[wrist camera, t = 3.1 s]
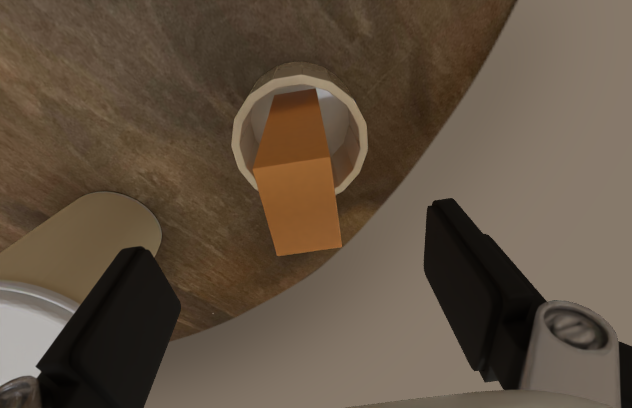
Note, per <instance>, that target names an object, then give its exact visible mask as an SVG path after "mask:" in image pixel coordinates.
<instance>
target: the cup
mask: <svg viewBox="0 0 632 408" xmlns="http://www.w3.org/2000/svg"><path fill="white" fill-rule="evenodd" d="M314 88H316V92H317V96H318V101H319V106H320V111H321V115H322V120H323V125H324V129H325V134H326V139H327V144H328V148H329V153H330V158H331V166H332V173H333V181H334V188H335V195H336V194H338V193H340V192H342V191H343V190H345V189H346V187H347V186H348V185H349V184H350V183H351V182H352V181H353V180H354V178H355V177H356V176H357V175H358V174H359V172H360V170H361V168H362V165H363V162H364V159H365V157H366V154H367V151H368V140H367V125H366V122H365V120H364V118H363V116H362V114H361V112H360V110H359V108H358V106H357V104H356V102H355V101H354V99H353V97H352V96H351V94H350V92H349V91H348V89H347V88H346V86H345V84H344V83H343V82H342V81H341V80H340V79H339V78H338V77H336V76H335V75H334V74H333V73H332V72H330V71H329V70H327V69H326V68H324V67H321V66H319V65H316V64H313V63H308V62H290V63H285V64H282V65H279V66H276V67H275V68H273V69H271V70H270V71H268V72H267V73H266V74H264V75H263V76H262V77H260V78H259V79H258V80H257V82H256V84H255V85H254V87H253V89H252V90H251V92H250V93H249V95H248V97H247V98H246V100H245V102H244V103H243V105H242V107H241V108H240V110H239V112H238V113H237V115H236V117H235V119H234V124H233V133H232V142H231V147H232V150H233V153H234V156H235V159H236V163H237V166H238V169H239V171H240V172H241V173H242V174H243V175H244V177H245V178H246V179H247V180H248V181H249V183H250V184H251V185H252V186H253V187H254V188H255V189H256V190H258V187H257V184H256V180H255V177H254V173H253V170H252V169H253V165H254V162H255V159H256V155H257V152H258V148H259V145H260V142H261V138H262V135H263V132H264V128H265V125H266V122H267V118H268V115H269V111H270V108H271V105H272V101H273V98H274V95H278V94H284V93H290V92H296V91H302V90H308V89H314Z"/></svg>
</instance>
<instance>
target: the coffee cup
mask: <svg viewBox="0 0 632 408" xmlns="http://www.w3.org/2000/svg"><path fill="white" fill-rule="evenodd" d="M161 239H162V231H161V227H160V224H159V222H158V220H157V219H156V217H155V215H154V214H153V213H152V212H151V211H150V210H149V209H148V208H147V207H146V206H144V205H143V204H142V203H140V202H139V201H137V200H135V199H133V198H131V197H128V196H126V195H123V194H119V193H115V192H106V191H103V192H94V193H90V194H87V195H84V196H82V197H80V198H79V199H77V200H76V201H74V202H72V203H71V204H69V205H68V206H67V207H65V208H64V209H62V210H61V211H59V212H58V213H57V214H55V215H54V216H52V217H51V218H49V219H48V220H46V221H45V222H44V223H42V224H41V225H39V226H38V227H36V228H35V229H34V230H32V231H31V232H29V233H28V234H26V235H25V236H24V237H22V238H21V239H19V240H18V241H17V242H15V243H14V244H12V245H11V246H9V247H8V248H7V249H5V250H4V251H2V252H1V253H0V386H1V385H3V384H5V383H7V382H8V381H10V380H12V379H15V378H18V377H21V376H33V377H35V378H37V377H38V376H39V374H40V373H41V371H40V370H39V369H38V368H36V367H35V366H36V365H37V364H38V362H39V361H40V359H41V358H42V357H43V355H44V354H45V353H46V351H47V350H48V349H49V347H50V346H51V344H52V343H53V342H54V340H55V339H56V338H57V336H58V335H59V333H60V332H61V331H62V329H63V328H64V327H65V325H66V324H67V323H68V321H69V320H70V318H71V317H72V316H73V314H74V313H75V312H76V310H77V309H78V308H79V306H80V305H81V303H82V302H83V301H84V299H85V298H86V297H87V295H88V294H89V293H90V291H91V290H92V288H93V287H94V286H95V284H96V283H97V282H98V280H99V279H100V277H101V276H102V275H103V273H104V272H105V271H106V269H107V268H108V267H109V265H110V264H111V262H112V261H113V260H114V258H115V257H116V256H117V254H118V253H119V252H120V251H121V250H122V249H124V248H130V247H136V246H142V247H144V248H145V249H148V250H150V252H151V253H152V255H153V256H154V257H155V255H156V253H157V251H158V248H159V246H160V243H161Z"/></svg>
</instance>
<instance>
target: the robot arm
mask: <svg viewBox="0 0 632 408" xmlns="http://www.w3.org/2000/svg"><path fill="white" fill-rule="evenodd" d="M425 235H426V236H425V251H424V271H425V275H426V277H427V279H428V281H429V283H430V285H431V287H432V289H433V291H434V293H435V295H436V297H437V299H438V301H439V304H440V306H441V308H442V310H443V312H444V314H445V316H446V318H447V320H448V322H449V324H450V326H451V328H452V330H453V332H454V334H455V336H456V338H457V340H458V342H459V344H460V346H461V348H462V350H463V352H464V354H465V356H466V358H467V360H468V362H469V364H470V366H471V368H472V369H473V370H474V371H479V372H480V374H481V376H482V378H483V380H484V382H491V381H499V382H500V384H501V386H502V388H503V389H504V390H501V391H485V392H484V391H483V392H472V393H463V394H454V395H444V396H437V397H436V396H435V397H427V398H417V399H409V400H401V401H394V402H386V403H378V404H371V405H364V406H355V407H348V408H632V346H629V345H627V344H624V343H622V342H619V341H618V338H617V335H616V332H615V331H614V330H613V328H612V327H611V325H610V324H609V323H608V322H607V321H606V320H605V319H604V318H602V317H601V316H600V315H599V314H597V313H595V312H594V311H592V310H590V309H589V308H586V307H584V306H582V305H579V304H576V303H572V302H568V301H558V300H553V301H549V302H547V301H546V300H545V299H544V298H543V297H542V296H541V294H540V293H539V292H538V291H537V290H536V289H535V288H534V286H533V285H532V284H531V283H530V282H529V281H528V279H527V278H526V277H525V276H524V275H523V274H522V272H521V271H520V270H519V269H518V268H517V267H516V265H515V264H514V263H513V262H512V261H511V260H510V259H509V257H508V256H507V255H506V254H505V253H504V252H503V250H501V248H500V247H499V246H498V245H497V244H496V242H495V241H494V240H493V239H492V238H491V237H490V236H489V235H486V234H483V233H482V232H481V231H480V230H479V229H478V227H477V226H476V225H475V224H474V223H473V221H472V220H471V219H470V218H469V217H468V216H467V214H466V213H465V212H464V211H463V210H462V208H461V207H460V206H459V205H458V204H457V202H456V201H455V200H454V199H452V198H448V199H442V200H435V201H433V203H432V206H428V208H427V219H426V234H425ZM180 311H181V304H180V301H179V299H178V298H177V296H176V294H175V293H174V291H173V289H172V287H171V286H170V284H169V282H168V280H167V279H166V277H165V275H164V274H163V272H162V270H161V268H160V267H159V265H158V263H157V262H156V260H155V258H154V256H153V255H152V253H151V252H150V250H148V249H145V248H144V247H142V246H136V247H130V248H124V249H122V250H121V251H120V252H119V253H118V254H117V256H116V257H115V258H114V260H113V261H112V262H111V264H110V265H109V267H108V268H107V269H106V271H105V272H104V273H103V275H102V276H101V277H100V279H99V280H98V282H97V283H96V284H95V286H94V287H93V288H92V290H91V291H90V293H89V294H88V295H87V297H86V298H85V299H84V301H83V302H82V303H81V305H80V306H79V308H78V309H77V310H76V312H75V313H74V314H73V316H72V317H71V318H70V320H69V321H68V323H67V324H66V325H65V327H64V328H63V329H62V331H61V332H60V333H59V335H58V336H57V338H56V339H55V340H54V342H53V343H52V344H51V346H50V347H49V349H48V350H47V351H46V353H45V354H44V355H43V357H42V358H41V359H40V361H39V362H38V364H37V365H36V366H35V367H36V368H38V369H39V370H40V371H41V373H40V374H39V376H38V377H37V378H35V377H33V376H21V377H18V378H15V379H12V380H10V381H8V382H7V383H5V384H3V385H1V386H0V408H144V405H145V403H146V400H147V397H148V395H149V392H150V390H151V387H152V384H153V382H154V379H155V377H156V374H157V371H158V369H159V366H160V363H161V361H162V358H163V356H164V353H165V350H166V348H167V345H168V343H169V340H170V337H171V335H172V332H173V330H174V327H175V324H176V322H177V319H178V317H179V314H180Z"/></svg>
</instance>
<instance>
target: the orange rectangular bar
mask: <svg viewBox="0 0 632 408" xmlns="http://www.w3.org/2000/svg"><path fill="white" fill-rule="evenodd" d="M252 170H253V173H254V177H255V180H256V184H257V187H258V191H259V194H260V198H261V201H262V204H263V208H264V211H265V215H266V218H267V222H268V225H269V229H270V232H271V236H272V239H273V243H274V246H275V250H276V253H277V256H283V255H290V254H297V253H304V252H311V251H318V250H325V249H332V248H339V247H342V242H341V234H340V226H339V219H338V211H337V204H336V196H335V188H334V181H333V173H332V166H331V158H330V153H329V148H328V144H327V139H326V134H325V129H324V125H323V120H322V115H321V111H320V106H319V101H318V96H317V92H316V88H314V89H308V90H302V91H296V92H290V93H284V94H278V95H274V98H273V101H272V105H271V108H270V111H269V115H268V118H267V122H266V125H265V128H264V132H263V135H262V138H261V142H260V145H259V148H258V152H257V155H256V159H255V162H254V165H253V169H252Z"/></svg>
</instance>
